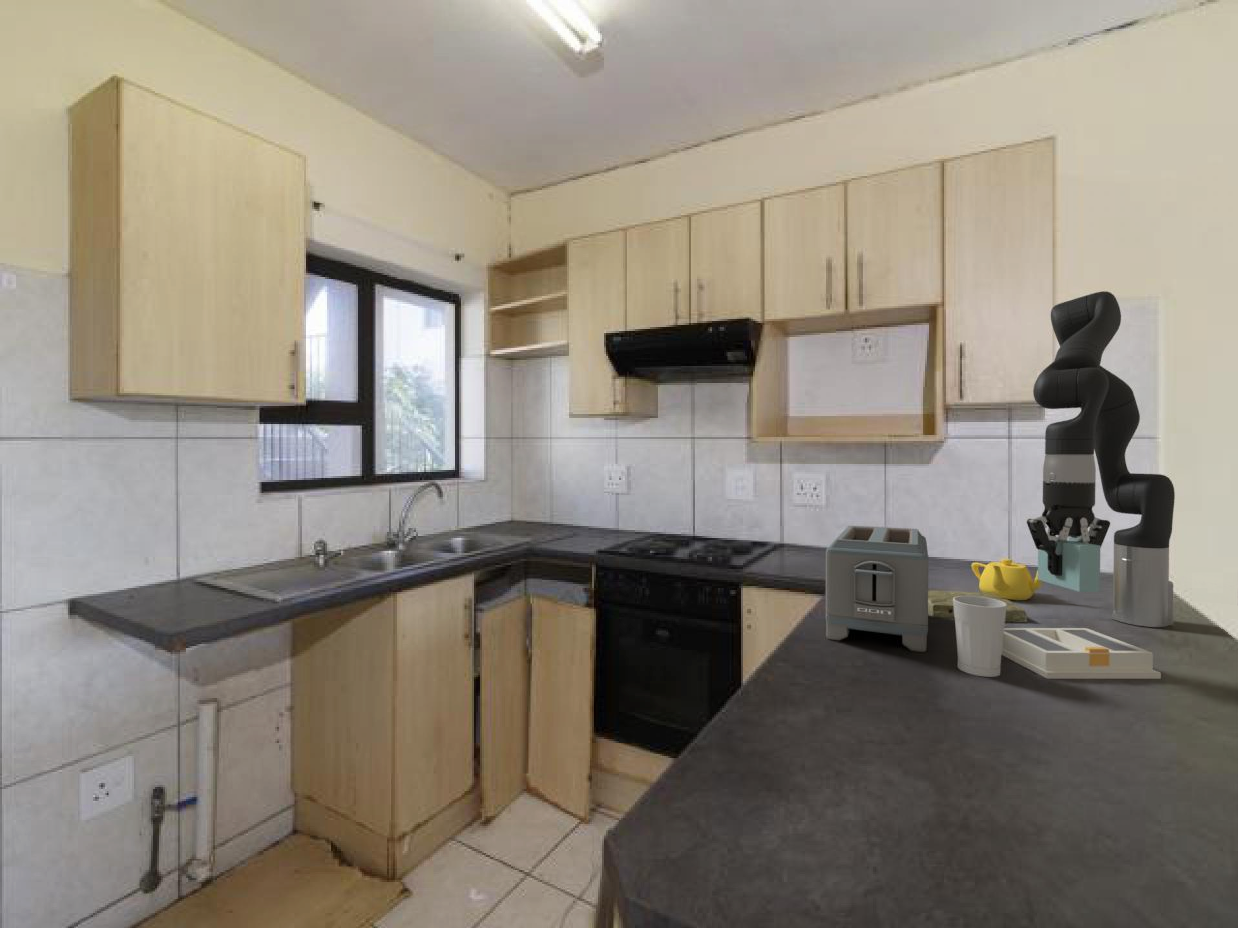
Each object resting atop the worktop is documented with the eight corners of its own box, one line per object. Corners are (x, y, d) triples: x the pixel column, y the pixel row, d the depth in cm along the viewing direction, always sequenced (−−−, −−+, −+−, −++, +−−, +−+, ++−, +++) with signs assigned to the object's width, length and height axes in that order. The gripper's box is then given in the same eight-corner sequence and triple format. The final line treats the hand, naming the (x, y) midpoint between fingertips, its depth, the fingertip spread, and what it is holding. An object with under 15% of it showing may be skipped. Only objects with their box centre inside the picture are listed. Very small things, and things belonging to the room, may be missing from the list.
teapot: (994, 602, 148) (994, 563, 148) (967, 590, 161) (967, 554, 161) (1051, 603, 147) (1051, 564, 146) (1019, 591, 160) (1019, 555, 160)
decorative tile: (907, 600, 151) (907, 587, 151) (992, 604, 148) (992, 590, 148) (933, 620, 133) (933, 605, 133) (1030, 625, 129) (1030, 609, 129)
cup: (998, 664, 104) (999, 597, 103) (1012, 681, 96) (1013, 608, 96) (948, 659, 106) (948, 594, 106) (957, 675, 99) (958, 604, 98)
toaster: (821, 645, 115) (822, 542, 114) (841, 606, 144) (841, 524, 144) (928, 660, 106) (929, 548, 106) (925, 615, 136) (926, 528, 136)
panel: (1056, 579, 110) (1056, 537, 110) (1099, 591, 100) (1100, 545, 100) (1037, 579, 110) (1038, 537, 110) (1079, 591, 100) (1080, 545, 100)
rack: (1084, 646, 113) (1084, 623, 113) (1160, 678, 97) (1161, 651, 97) (986, 646, 113) (986, 623, 113) (1047, 678, 97) (1047, 651, 97)
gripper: (1091, 479, 108) (1089, 571, 109) (1015, 478, 109) (1013, 570, 109) (1126, 481, 101) (1124, 579, 101) (1044, 480, 101) (1042, 579, 101)
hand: (1067, 574), depth 105 cm, fingers closed on panel, 3 cm apart
